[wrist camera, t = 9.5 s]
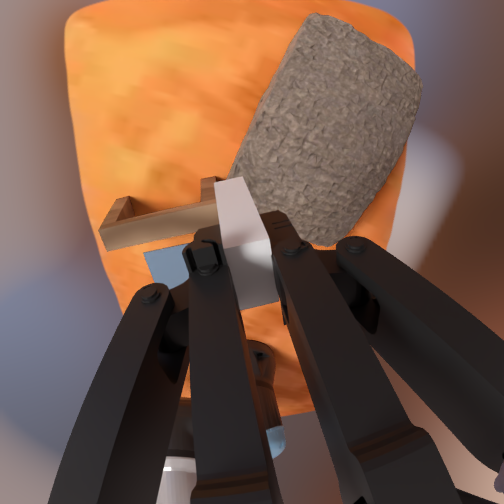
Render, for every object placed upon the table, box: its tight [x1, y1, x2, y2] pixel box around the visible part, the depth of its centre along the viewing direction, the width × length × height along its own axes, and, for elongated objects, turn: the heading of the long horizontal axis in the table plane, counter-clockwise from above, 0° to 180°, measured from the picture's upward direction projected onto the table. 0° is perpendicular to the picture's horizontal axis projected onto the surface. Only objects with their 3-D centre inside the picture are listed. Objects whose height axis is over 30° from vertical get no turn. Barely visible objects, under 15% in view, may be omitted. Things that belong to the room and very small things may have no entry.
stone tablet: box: [226, 13, 423, 247], centre depth 36 cm, size 20×8×30 cm
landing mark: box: [143, 243, 189, 290], centre depth 49 cm, size 12×12×1 cm
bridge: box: [98, 176, 219, 252], centre depth 37 cm, size 3×14×9 cm, turn 97°
